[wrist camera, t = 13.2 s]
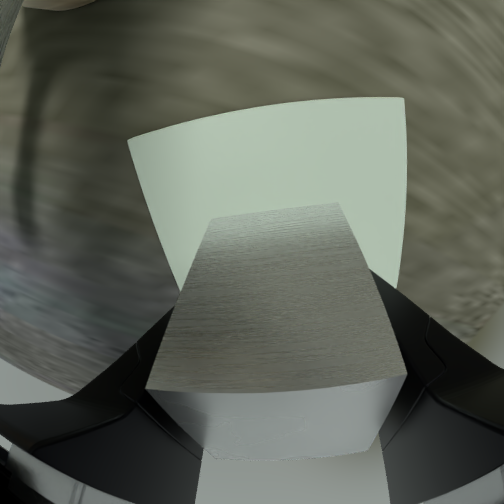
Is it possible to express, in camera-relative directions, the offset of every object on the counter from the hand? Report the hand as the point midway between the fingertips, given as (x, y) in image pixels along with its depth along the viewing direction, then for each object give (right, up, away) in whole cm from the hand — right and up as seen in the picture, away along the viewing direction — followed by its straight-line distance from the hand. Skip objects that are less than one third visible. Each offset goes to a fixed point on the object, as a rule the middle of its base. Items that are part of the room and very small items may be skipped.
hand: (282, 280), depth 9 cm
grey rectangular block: (0, +1, +1) cm, 1 cm away
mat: (0, +3, +4) cm, 5 cm away
